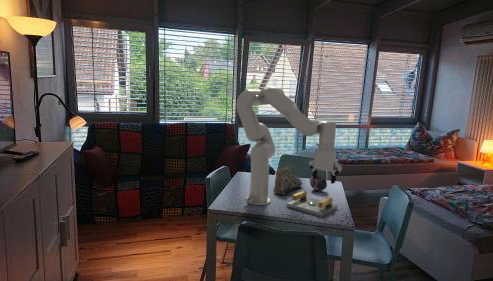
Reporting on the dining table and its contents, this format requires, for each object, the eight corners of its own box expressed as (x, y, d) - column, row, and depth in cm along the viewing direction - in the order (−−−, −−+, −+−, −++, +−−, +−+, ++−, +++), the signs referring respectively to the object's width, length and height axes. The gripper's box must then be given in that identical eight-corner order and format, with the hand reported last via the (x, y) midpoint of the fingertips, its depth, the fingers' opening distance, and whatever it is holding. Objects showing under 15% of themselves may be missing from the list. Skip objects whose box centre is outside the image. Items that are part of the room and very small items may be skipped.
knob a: (296, 202, 173) (297, 196, 172) (290, 201, 175) (291, 194, 174) (307, 198, 181) (308, 191, 181) (301, 196, 184) (302, 190, 183)
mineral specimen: (328, 192, 200) (329, 176, 199) (311, 192, 200) (312, 176, 198) (323, 188, 210) (324, 172, 209) (307, 187, 209) (308, 172, 208)
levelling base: (321, 217, 160) (322, 212, 160) (286, 206, 173) (286, 201, 172) (337, 208, 173) (337, 203, 173) (303, 199, 186) (303, 194, 185)
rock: (284, 197, 188) (285, 171, 186) (268, 193, 194) (270, 168, 192) (304, 187, 210) (306, 164, 208) (290, 184, 216) (291, 161, 214)
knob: (323, 210, 163) (323, 203, 163) (316, 208, 166) (317, 201, 165) (333, 205, 172) (333, 198, 171) (326, 203, 174) (327, 196, 174)
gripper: (306, 145, 164) (304, 179, 166) (339, 150, 153) (336, 186, 155) (314, 143, 169) (311, 176, 172) (346, 148, 159) (343, 183, 161)
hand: (323, 181), depth 164 cm, fingers open, 9 cm apart
